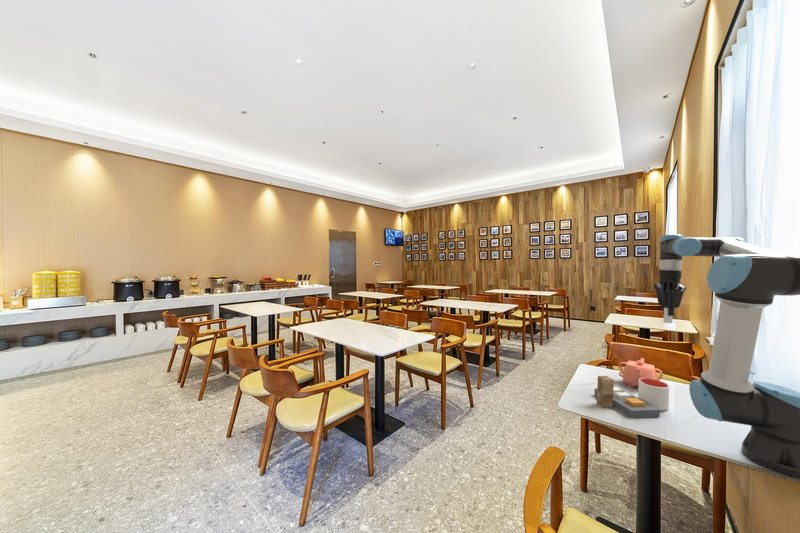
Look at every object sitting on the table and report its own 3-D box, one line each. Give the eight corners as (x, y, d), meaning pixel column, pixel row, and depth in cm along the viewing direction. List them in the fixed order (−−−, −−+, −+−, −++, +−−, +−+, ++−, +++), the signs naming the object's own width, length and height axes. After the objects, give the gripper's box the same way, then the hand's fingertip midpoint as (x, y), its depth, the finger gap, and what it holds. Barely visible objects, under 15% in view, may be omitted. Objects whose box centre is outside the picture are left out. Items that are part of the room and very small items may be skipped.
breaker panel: (659, 417, 120) (660, 406, 120) (631, 418, 119) (631, 406, 119) (619, 394, 140) (619, 384, 140) (594, 395, 139) (594, 385, 139)
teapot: (635, 393, 141) (637, 366, 141) (612, 379, 158) (613, 355, 157) (669, 394, 141) (670, 367, 140) (641, 380, 157) (642, 355, 157)
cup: (674, 413, 123) (675, 389, 123) (646, 410, 125) (647, 386, 125) (658, 401, 133) (659, 379, 133) (633, 399, 135) (634, 377, 135)
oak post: (612, 408, 127) (613, 379, 126) (603, 408, 126) (604, 379, 126) (605, 403, 131) (606, 376, 130) (596, 403, 130) (597, 376, 130)
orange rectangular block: (644, 410, 122) (645, 402, 122) (633, 411, 122) (633, 402, 122) (636, 405, 126) (636, 398, 126) (624, 406, 126) (625, 398, 126)
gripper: (693, 270, 128) (690, 325, 129) (664, 269, 141) (661, 319, 142) (676, 270, 128) (674, 325, 128) (649, 269, 141) (646, 319, 141)
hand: (667, 322), depth 135 cm, fingers closed
